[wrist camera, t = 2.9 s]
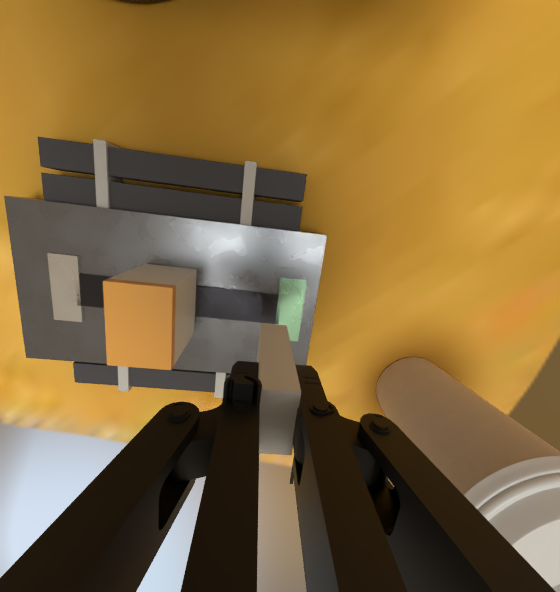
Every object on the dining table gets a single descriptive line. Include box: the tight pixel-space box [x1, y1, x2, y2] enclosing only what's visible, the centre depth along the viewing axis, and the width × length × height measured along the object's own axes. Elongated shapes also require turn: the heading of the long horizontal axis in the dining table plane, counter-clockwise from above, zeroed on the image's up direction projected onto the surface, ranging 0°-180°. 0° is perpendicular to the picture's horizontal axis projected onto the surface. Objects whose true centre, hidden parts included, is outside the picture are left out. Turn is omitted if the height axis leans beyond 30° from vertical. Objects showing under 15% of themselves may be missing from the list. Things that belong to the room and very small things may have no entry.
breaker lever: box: [103, 264, 197, 370], centre depth 18 cm, size 5×4×6 cm
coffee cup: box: [376, 357, 560, 592], centre depth 20 cm, size 10×10×15 cm
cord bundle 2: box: [73, 361, 231, 398], centre depth 25 cm, size 3×16×2 cm, turn 83°
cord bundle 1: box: [38, 137, 307, 232], centre depth 20 cm, size 5×18×2 cm, turn 83°
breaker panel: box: [4, 196, 327, 373], centre depth 22 cm, size 12×22×3 cm, turn 83°
